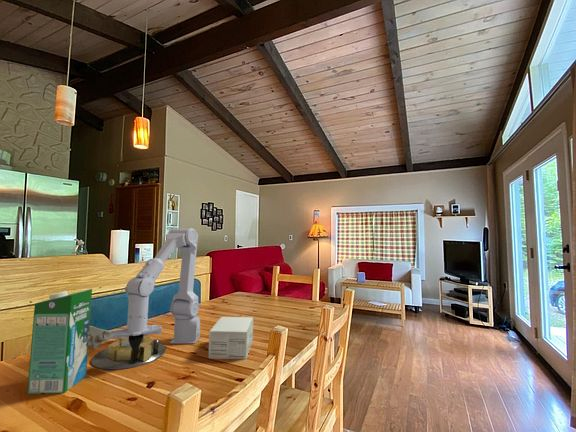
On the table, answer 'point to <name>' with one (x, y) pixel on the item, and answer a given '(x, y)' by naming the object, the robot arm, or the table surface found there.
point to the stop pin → (155, 346)
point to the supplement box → (231, 338)
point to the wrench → (100, 336)
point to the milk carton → (59, 342)
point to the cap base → (108, 364)
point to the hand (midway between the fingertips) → (135, 359)
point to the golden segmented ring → (130, 350)
